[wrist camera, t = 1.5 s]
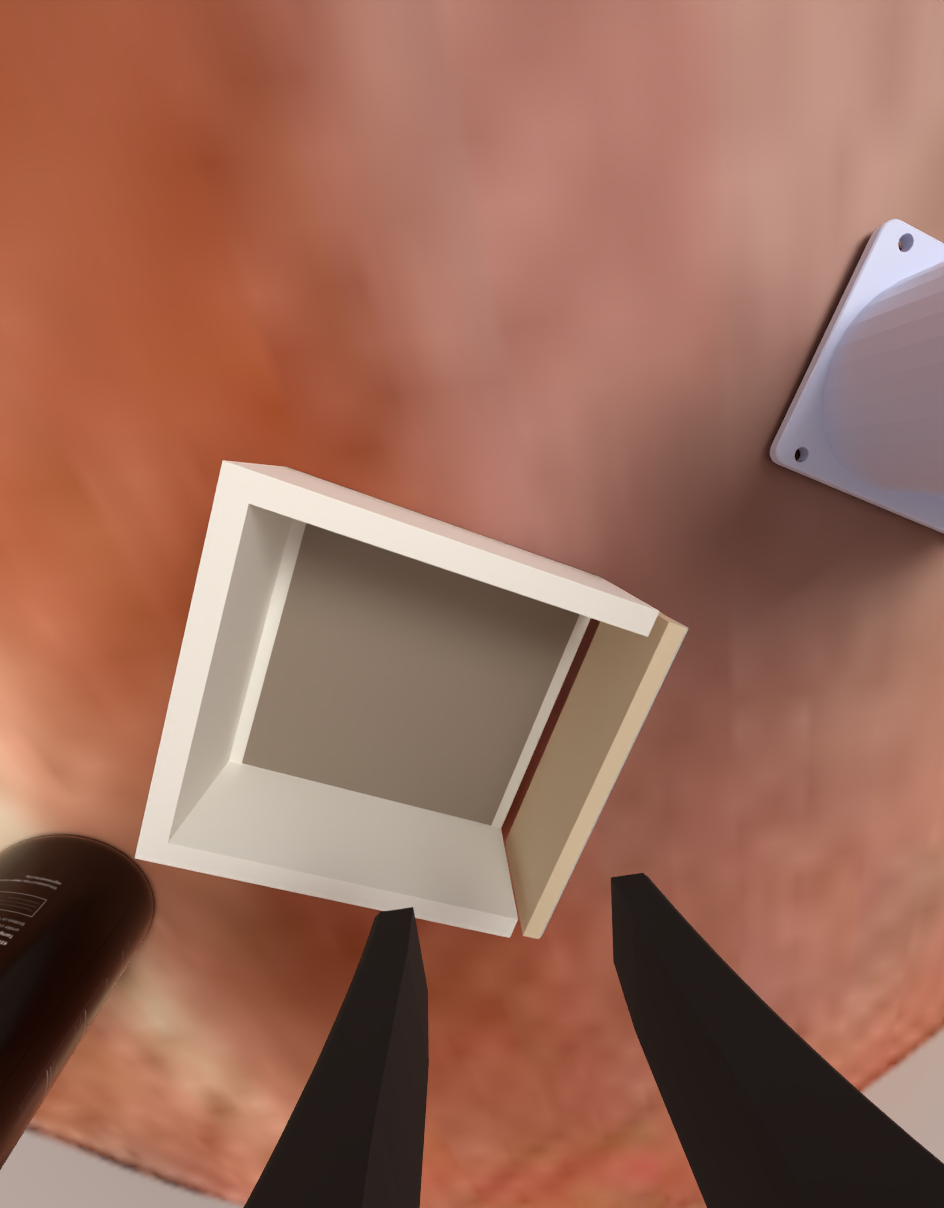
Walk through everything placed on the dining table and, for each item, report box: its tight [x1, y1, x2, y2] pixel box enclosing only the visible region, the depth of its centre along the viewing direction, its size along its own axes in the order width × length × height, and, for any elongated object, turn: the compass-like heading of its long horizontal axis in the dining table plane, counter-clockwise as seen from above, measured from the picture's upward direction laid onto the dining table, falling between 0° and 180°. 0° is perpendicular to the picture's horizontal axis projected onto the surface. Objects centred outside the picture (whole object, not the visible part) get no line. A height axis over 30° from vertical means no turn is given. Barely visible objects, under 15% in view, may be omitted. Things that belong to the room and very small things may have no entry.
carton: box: [135, 460, 660, 938], centre depth 16 cm, size 12×12×5 cm
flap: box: [505, 612, 689, 939], centre depth 16 cm, size 1×12×4 cm, turn 160°
